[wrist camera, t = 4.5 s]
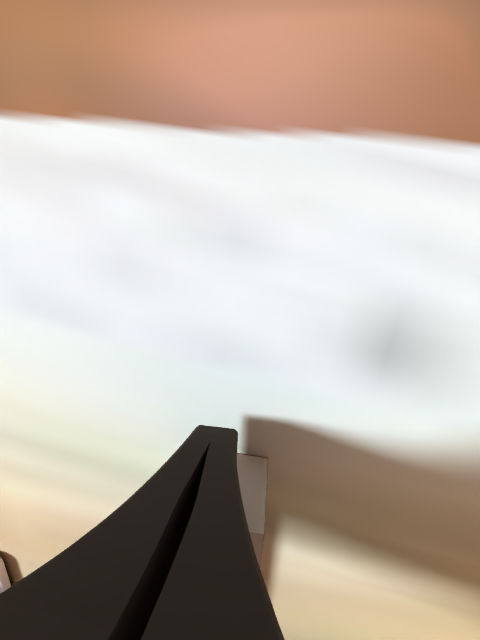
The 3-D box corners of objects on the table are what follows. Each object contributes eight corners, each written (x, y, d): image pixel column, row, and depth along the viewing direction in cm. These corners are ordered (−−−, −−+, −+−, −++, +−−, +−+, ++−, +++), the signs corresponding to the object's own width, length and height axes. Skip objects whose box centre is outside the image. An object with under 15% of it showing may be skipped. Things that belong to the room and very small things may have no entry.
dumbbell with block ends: (177, 663, 17) (157, 751, 14) (177, 444, 12) (145, 512, 9) (245, 679, 16) (237, 773, 14) (274, 459, 11) (272, 535, 9)
